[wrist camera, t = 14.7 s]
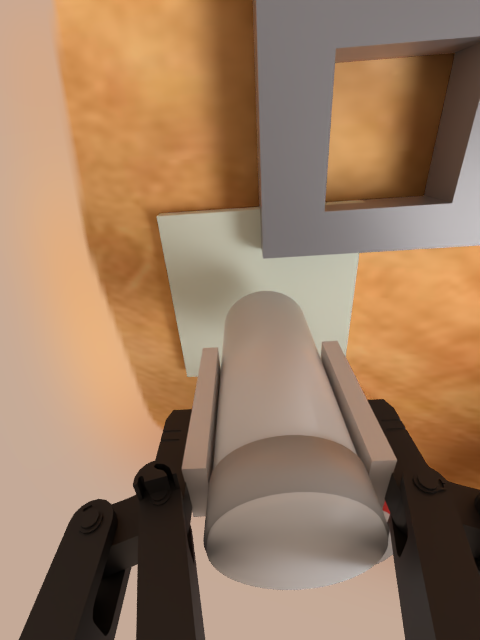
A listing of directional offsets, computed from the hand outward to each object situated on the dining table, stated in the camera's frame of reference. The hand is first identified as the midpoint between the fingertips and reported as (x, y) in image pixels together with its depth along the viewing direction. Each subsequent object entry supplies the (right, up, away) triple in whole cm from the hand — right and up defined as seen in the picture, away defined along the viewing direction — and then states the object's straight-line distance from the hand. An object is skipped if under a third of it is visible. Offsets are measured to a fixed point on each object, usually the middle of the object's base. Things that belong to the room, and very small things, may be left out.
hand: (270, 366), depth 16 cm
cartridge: (0, +2, +3) cm, 4 cm away
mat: (0, +4, +7) cm, 8 cm away
